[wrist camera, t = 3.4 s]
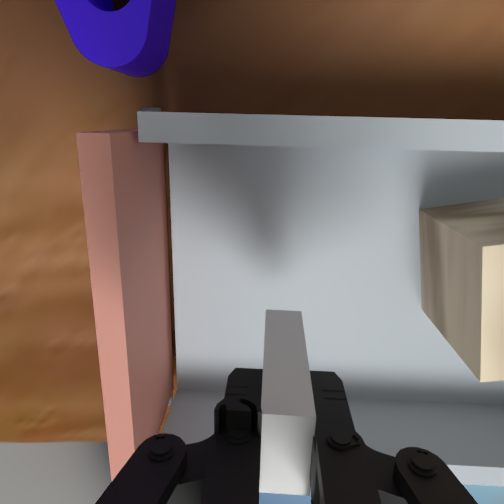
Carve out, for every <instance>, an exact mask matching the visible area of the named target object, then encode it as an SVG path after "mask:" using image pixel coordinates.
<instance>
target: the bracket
mask: <svg viewBox="0 0 504 504" xmlns="http://www.w3.org/2000/svg"><path fill="white" fill-rule="evenodd" d="M55 2H56V4H57V6H58V9H59V11H60V13H61V15H62V18H63V20H64V22H65V24H66V26H67V29H68V31H69V33H70V35H71V38H72V40H73V42H74V44H75V45H76V47H77V48H78V50H79V51H80V52H81V53H82V54H83V55H84V56H85V57H86V58H87V59H88V60H90V61H91V62H93V63H95V64H97V65H100V66H103V67H106V68H109V69H112V70H115V71H118V72H121V73H124V74H127V75H130V76H135V77H142V76H147V75H150V74H152V73H154V72H155V71H157V70H158V69H159V68H160V67H161V66H162V64H163V63H164V61H165V59H166V57H167V54H168V50H169V43H170V37H171V30H172V24H173V17H174V11H175V4H176V0H130V1H129V2H128V4H127V5H126V6H124V7H123V8H121V9H120V10H117V11H114V6H113V0H55Z"/></svg>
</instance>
